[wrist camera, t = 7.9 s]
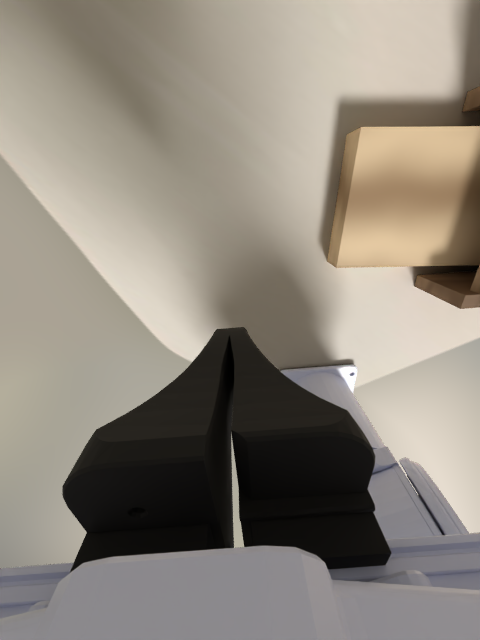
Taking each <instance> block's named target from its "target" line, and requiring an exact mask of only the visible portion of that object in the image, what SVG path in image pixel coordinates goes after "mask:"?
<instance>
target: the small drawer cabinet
mask: <svg viewBox="0 0 480 640" xmlns="http://www.w3.org/2000/svg"><path fill="white" fill-rule="evenodd" d="M468 111H480V87H477V88H475V89H473V90H471V91H468V92H467V96H466V100H465V103H464V107H463V111H462V112H468ZM415 287H417V288H419V289H421V290H423V291H425V292H427V293H429V294H431V295H433V296H435V297H437V298H439V299H442V300H444V301H446V302H448V303H450V304H452V305H454V306H456V307H458V308H460V309H464V308H476V307H480V265H479V268H478V270H477V271H464V272H451V273H439V274H426V275H417V278H416V282H415Z"/></svg>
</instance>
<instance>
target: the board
mask: <svg viewBox="0 0 480 640" xmlns="http://www.w3.org/2000/svg"><path fill="white" fill-rule="evenodd" d="M327 262H329V263H330V264H332V265H333V266H335V267H336V268H350V267H403V266H455V265H480V126H433V127H360V128H358V129H356V130H355V131H353V132H351V133H349V134H347V136H346V143H345V149H344V156H343V162H342V169H341V175H340V182H339V188H338V194H337V201H336V207H335V214H334V220H333V227H332V233H331V240H330V246H329V253H328V259H327Z"/></svg>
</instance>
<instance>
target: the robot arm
mask: <svg viewBox="0 0 480 640" xmlns="http://www.w3.org/2000/svg"><path fill="white" fill-rule="evenodd" d="M350 373H351V374H350ZM356 375H357V367H356V366H355V365H353V364H351V365H338V366H326V367H313V368H300V369H287V370H282V371H279V370H278V369H277V368H276V367H275V366H274V365H273V364H272V363H271V362H270V361H269V360H268V359H267V358H266V357H265V356H264V355H263V354H262V353H261V352H260V350H259V349H258V348H257V346H256V345H255V344H254V342H253V341H252V339H251V338H250V336H249V335H248V333H247V330H246V329H245V328H244V327H241V328H228V329H217V330H216V331H215V332H214V334H213V336H212V337H211V339H210V340H209V342H208V343H207V345H206V346H205V347H204V349H203V350H202V351H201V353H200V354H199V355H198V356H197V357H196V359H195V360H194V361H193V362H192V363H191V365H190V366H189V367H188V368H187V369H186V370H185V371H184V372H183V373H182V374H181V375H180V376H178V377H177V378H176V379H175V380H174V381H173V382H171V383H170V384H169V385H168V386H166V387H165V388H164V389H163V390H161V391H160V392H159V393H157V394H156V395H155V396H153V397H152V398H150V399H149V400H147V401H146V402H144V403H143V404H141V405H140V406H138V407H137V408H135V409H133V410H132V411H130V412H129V413H126V414H125V415H123V416H121V417H119V418H117V419H116V420H114V421H112V422H110V423H108V424H106V425H104V426H102V427H100V428H99V429H97V430H96V431H95V432H94V434H93V435H92V437H91V438H90V440H89V441H88V443H87V444H86V446H85V448H84V450H83V451H82V453H81V455H80V457H79V458H78V460H77V462H76V464H75V466H74V467H73V469H72V471H71V473H70V474H69V476H68V478H67V479H66V481H65V483H64V485H63V498H64V500H65V502H66V504H67V506H68V508H69V509H70V510H71V512H72V513H73V514H74V515H75V517H76V518H77V519H78V521H79V522H80V524H81V525H82V526H83V528H84V529H85V530H86V532H87V534H86V536H85V538H84V540H83V543H82V546H81V547H80V550H79V552H78V554H77V557H76V559H75V562H74V563H62V564H48V565H35V566H22V567H8V568H0V640H480V533H469V532H468V531H467V529H466V528H465V526H464V525H463V523H462V522H461V520H460V519H459V517H458V516H457V514H456V513H455V512H454V510H453V509H452V507H451V506H450V504H449V503H448V501H447V500H446V498H445V497H444V496H443V494H442V493H441V491H440V490H439V489H438V487H437V486H436V484H435V483H434V482H433V480H432V479H431V478H430V476H429V475H428V474H427V472H426V471H425V470H424V469H423V467H422V466H421V465H420V464H418V463H416V462H413V461H410V460H409V459H408V458H406V457H405V458H402V459H400V460H399V462H400V464H401V465H402V467H403V468H404V470H405V472H406V474H407V477H408V478H409V480H410V482H411V483H412V485H413V487H414V488H415V490H416V492H417V493H418V495H417V493H416V492H415V490H414V488H413V487H412V485H411V484H410V482H409V480H408V479H407V478H406V476H405V474H404V472H403V471H402V469H401V468H400V466H399V465H398V463H397V461H396V460H395V458H394V457H393V455H392V453H391V452H390V450H389V449H388V447H386V446H385V445H384V443H383V442H382V440H381V438H380V437H379V435H378V434H377V432H376V430H375V428H374V427H373V425H372V424H371V422H370V420H369V419H368V417H367V416H366V414H365V412H364V411H363V409H362V408H361V406H360V404H359V403H358V401H357V399H356V398H355V396H354V394H353V390H354V385H355V380H356ZM232 413H233V415H232ZM231 432H232V440H233V448H234V455H235V462H236V470H237V478H238V485H239V516H240V521H241V526H242V533H243V540H244V547H240V548H234V541H233V540H234V538H233V506H232V505H233V504H232V463H231Z"/></svg>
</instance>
